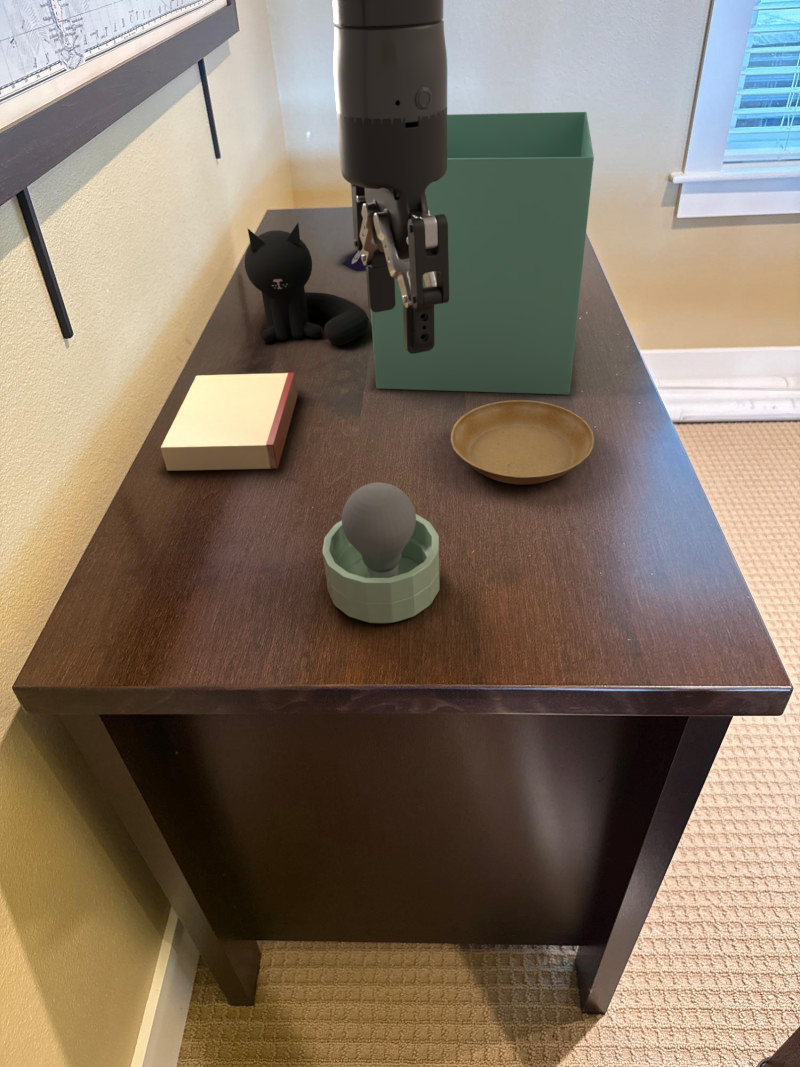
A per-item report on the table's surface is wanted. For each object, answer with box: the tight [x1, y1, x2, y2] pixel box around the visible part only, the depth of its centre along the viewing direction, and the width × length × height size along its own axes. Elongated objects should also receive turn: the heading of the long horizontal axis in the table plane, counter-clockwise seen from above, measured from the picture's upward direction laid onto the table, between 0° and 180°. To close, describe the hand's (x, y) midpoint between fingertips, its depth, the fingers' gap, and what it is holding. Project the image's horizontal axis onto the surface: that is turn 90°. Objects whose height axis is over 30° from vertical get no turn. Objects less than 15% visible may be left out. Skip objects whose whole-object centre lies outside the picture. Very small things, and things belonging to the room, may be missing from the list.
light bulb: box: [341, 481, 417, 578], centre depth 64 cm, size 6×6×10 cm
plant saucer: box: [450, 399, 595, 486], centre depth 81 cm, size 15×15×3 cm
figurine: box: [244, 222, 370, 346], centre depth 104 cm, size 16×14×15 cm
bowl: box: [321, 513, 441, 624], centre depth 66 cm, size 10×10×5 cm
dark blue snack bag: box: [342, 250, 368, 272], centre depth 130 cm, size 9×15×4 cm, turn 126°
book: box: [160, 371, 299, 472], centre depth 88 cm, size 16×12×3 cm
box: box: [367, 111, 595, 396], centre depth 93 cm, size 23×21×26 cm
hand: (399, 329), depth 62 cm, fingers open, 8 cm apart
